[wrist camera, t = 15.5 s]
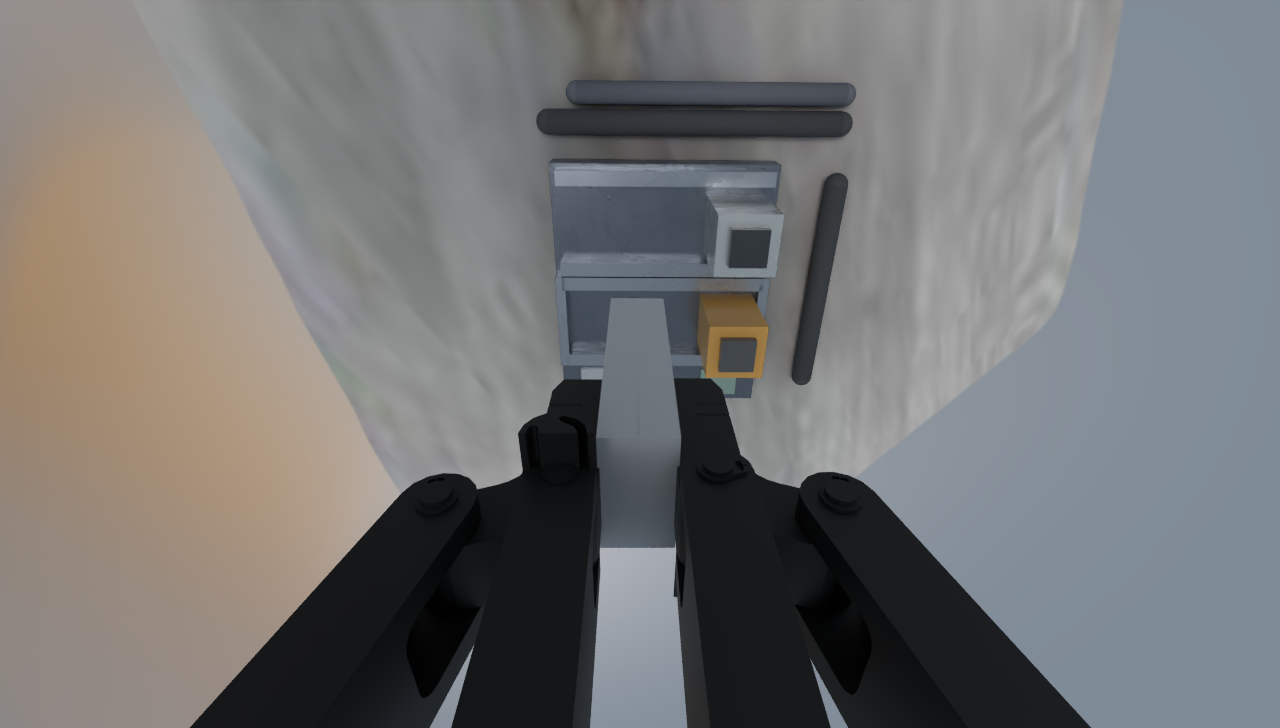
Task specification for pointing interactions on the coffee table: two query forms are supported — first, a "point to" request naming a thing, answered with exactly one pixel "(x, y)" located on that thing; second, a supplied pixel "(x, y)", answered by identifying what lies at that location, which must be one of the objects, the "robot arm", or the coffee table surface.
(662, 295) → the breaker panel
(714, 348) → the block
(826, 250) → the rod
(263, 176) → the coffee table surface
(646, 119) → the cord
